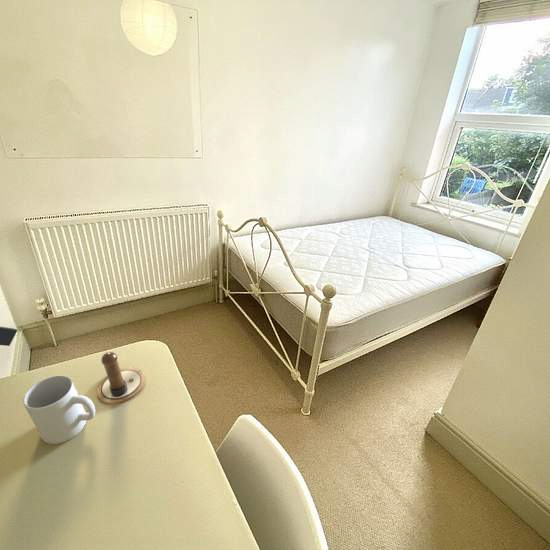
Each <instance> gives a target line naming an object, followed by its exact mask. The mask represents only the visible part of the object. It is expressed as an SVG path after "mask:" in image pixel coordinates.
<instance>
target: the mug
mask: <svg viewBox="0 0 550 550" xmlns="http://www.w3.org/2000/svg"><path fill="white" fill-rule="evenodd" d="M22 403H23V406H24V408H25V410H26V412H27V413H28V415H29V417H30V419H31V421H32V422H33V425H34V426H35V428H36V430H37V432H38V434H39V436H40V438H41V439H42V441H43V442H45V443H46V444H50V445H59V444H63V443H65V442H67V441H69V440H71V439H73V438H74V437H76V436H77V435H78V434H80V432H81V431H82V430H83V429H84V427H85V426H86V424H87V421H91V420H93V419H94V418H95V416H96V414H97V413H96V406H95V404H94V402H93V401H92V399H91V398H89V397H88V396H86V395H85V396H84V395H81V394H80V395H79V392H78V390H77V388H76V385H75V383H74V381H73V379H72V378H71V377H69V376H67V375H64V374H63V375H60V374H59V375H58V374H57V375H52V376H49V377H46V378H43V379H41V380H40V381H38V382H36V383H35V384H34V385H33V386H31V387H30V388H29V389H28V390H27V391H26V392H25V394H24V396H23V402H22ZM85 407H86V408H85ZM86 409H87V410H88V412H87V411H86Z"/></svg>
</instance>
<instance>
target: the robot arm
mask: <svg viewBox="0 0 550 550" xmlns="http://www.w3.org/2000/svg"><path fill="white" fill-rule="evenodd" d="M17 332H18V329H16V328H12V327H7V326H6V327H5V326H0V346H5V347H6V346H7V347H10V346H11V344H12V342H13V340H14V339H15V336H16V334H17Z"/></svg>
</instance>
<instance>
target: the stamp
mask: <svg viewBox="0 0 550 550" xmlns="http://www.w3.org/2000/svg"><path fill="white" fill-rule="evenodd" d="M100 360H101V364H102V365H103V367H104V370H105V373H106V376H108V379H109V382H110V387H109V389H110V392H111V395H112V396H114V397H119V396H122V395H124V394H125V393H126V392H127V385H126V382H125V380H123V378H122V374H121V371H120V369H121V368H120V365H119V361H118V355H117V354H116V352H114V351H108V352H105V353H104V354H103V355H102V357H101V359H100Z"/></svg>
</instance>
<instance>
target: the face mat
mask: <svg viewBox="0 0 550 550" xmlns="http://www.w3.org/2000/svg"><path fill="white" fill-rule="evenodd" d="M120 371H121V374H122V378H123V380H125V382H126V385H127V392H126V393H125V394H124V395H122V396H119V397H114V396H112V395H111V392H110V389H109V387H110V382H109V379H108V376H107V375H106V376H105V377H104V378H103V379H102V380H100V382H99V383H98V385H97V388H96V395H97V398H98V399H99V401H101V402H102V403H105V404H109V405H117V404H121V403H124V402H127V401H129V400H131V399H134V397H136V396H137V395H138V394H139V393H140V392H141V391H142V390H143V388H144V387H145V385H146V380H147V379H146V375H145V373H144V372H143V371H142V370H141V369H139V368H137V367H123V368H120Z"/></svg>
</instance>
